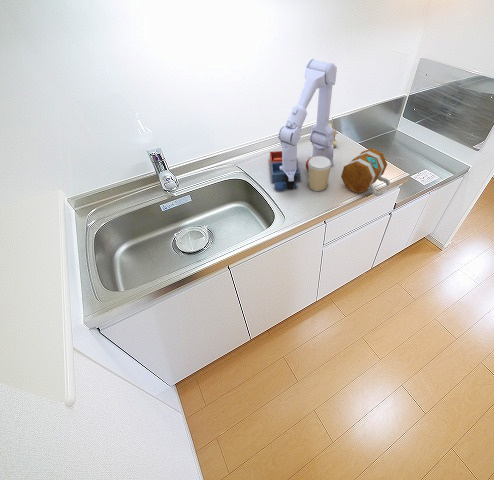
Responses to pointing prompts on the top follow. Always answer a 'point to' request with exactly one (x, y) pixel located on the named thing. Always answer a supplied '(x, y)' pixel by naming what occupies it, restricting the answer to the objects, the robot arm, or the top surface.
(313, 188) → the coffee cup
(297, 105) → the robot arm
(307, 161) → the apple
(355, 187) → the mug
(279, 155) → the red bin
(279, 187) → the blue spoon
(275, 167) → the blue bin
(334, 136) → the robot
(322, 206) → the top surface
